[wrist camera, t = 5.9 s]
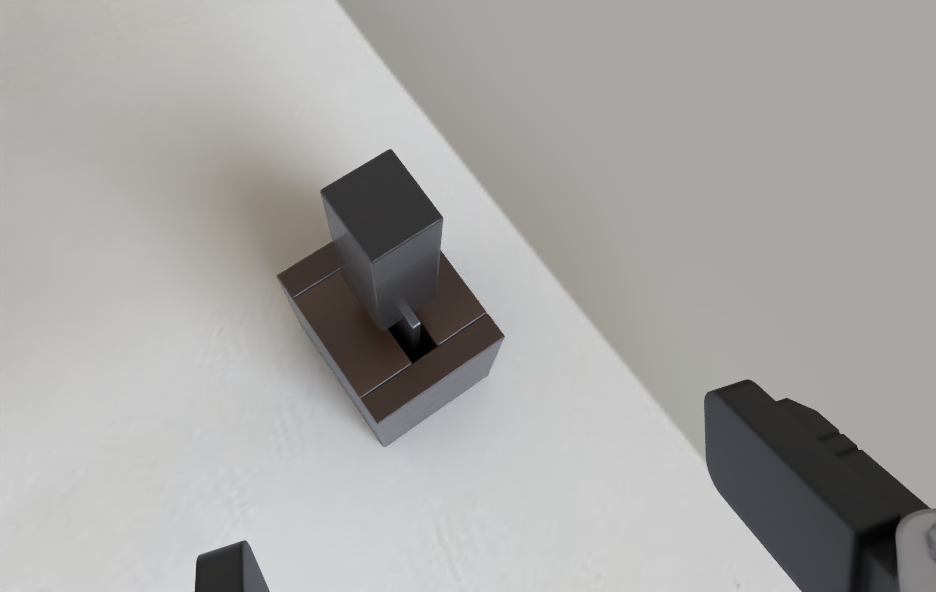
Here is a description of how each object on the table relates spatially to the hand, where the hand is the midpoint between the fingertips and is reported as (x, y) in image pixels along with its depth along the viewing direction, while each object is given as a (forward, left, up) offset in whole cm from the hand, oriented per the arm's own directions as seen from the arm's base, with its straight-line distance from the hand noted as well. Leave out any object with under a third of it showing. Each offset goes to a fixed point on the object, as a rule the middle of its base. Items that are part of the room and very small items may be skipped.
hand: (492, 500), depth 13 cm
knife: (+2, -7, -17) cm, 19 cm away
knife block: (+2, -7, -17) cm, 19 cm away
